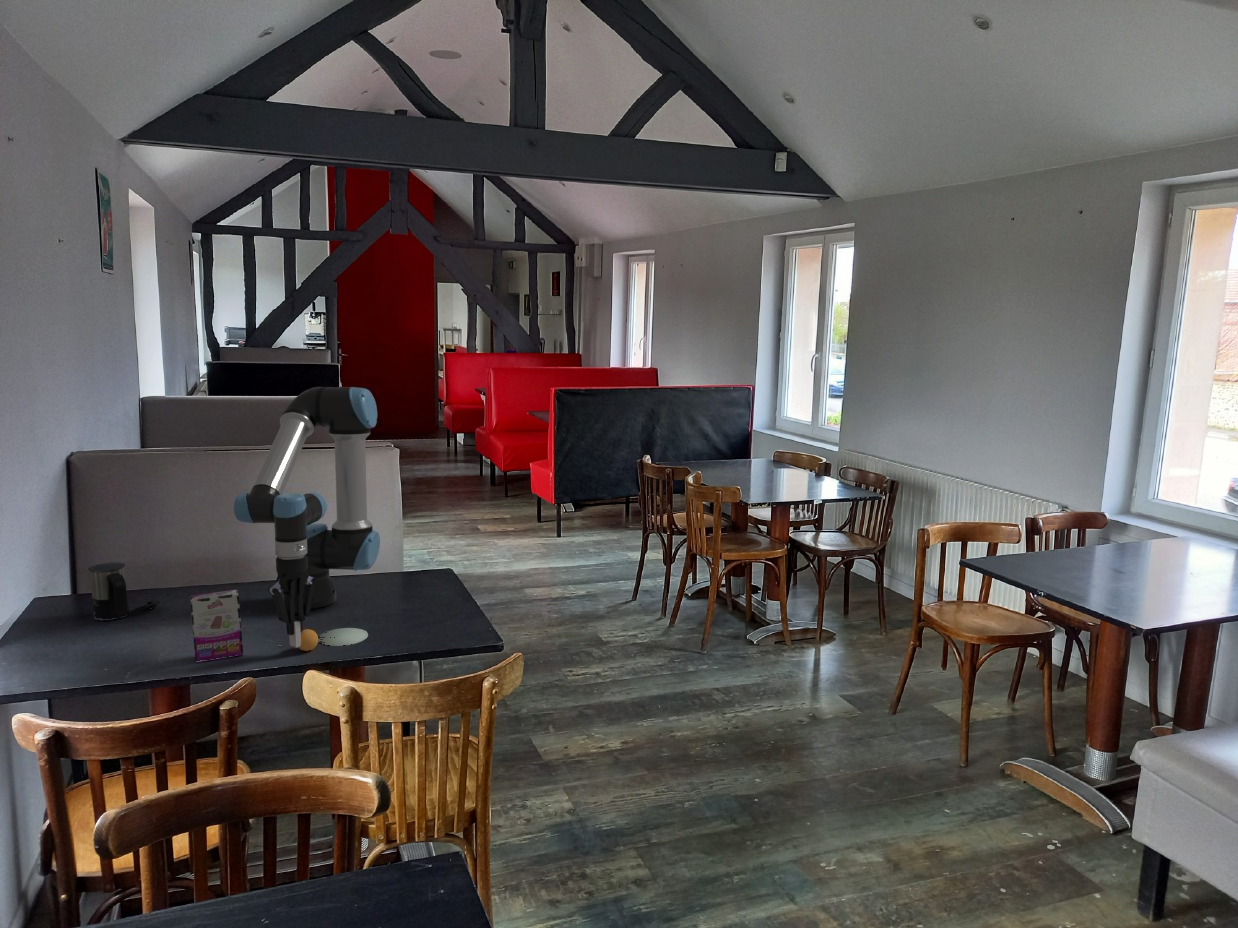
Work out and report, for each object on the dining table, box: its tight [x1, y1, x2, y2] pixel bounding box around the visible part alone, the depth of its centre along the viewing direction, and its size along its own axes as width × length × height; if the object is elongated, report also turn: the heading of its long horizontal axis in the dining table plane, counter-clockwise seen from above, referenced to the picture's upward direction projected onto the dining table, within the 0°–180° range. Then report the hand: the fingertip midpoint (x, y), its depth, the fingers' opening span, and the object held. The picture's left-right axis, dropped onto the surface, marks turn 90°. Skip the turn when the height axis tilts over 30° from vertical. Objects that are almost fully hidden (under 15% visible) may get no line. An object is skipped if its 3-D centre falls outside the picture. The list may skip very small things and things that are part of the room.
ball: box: [297, 628, 319, 652], centre depth 225 cm, size 6×6×6 cm
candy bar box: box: [189, 589, 244, 661], centre depth 219 cm, size 11×5×16 cm, turn 117°
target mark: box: [318, 627, 369, 647], centre depth 234 cm, size 13×13×1 cm
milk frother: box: [87, 561, 163, 619], centre depth 249 cm, size 14×16×15 cm
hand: (295, 645), depth 222 cm, fingers closed
